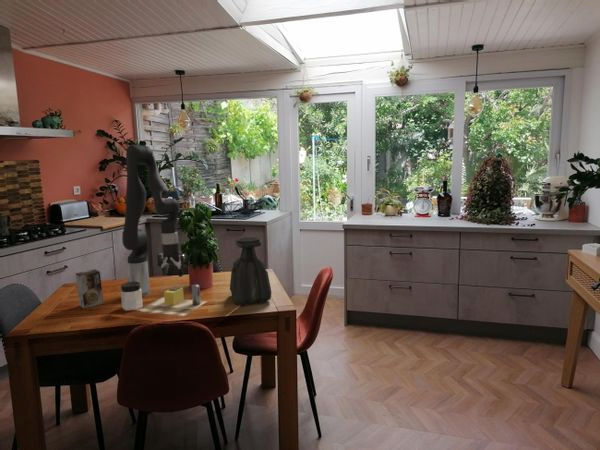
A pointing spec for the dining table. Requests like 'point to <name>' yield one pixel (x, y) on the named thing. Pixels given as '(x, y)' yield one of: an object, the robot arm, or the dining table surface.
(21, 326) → the dining table surface
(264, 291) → the dark grey vase
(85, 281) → the coffee box
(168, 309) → the panel
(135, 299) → the jar
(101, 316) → the dining table surface
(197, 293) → the peg
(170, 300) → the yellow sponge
